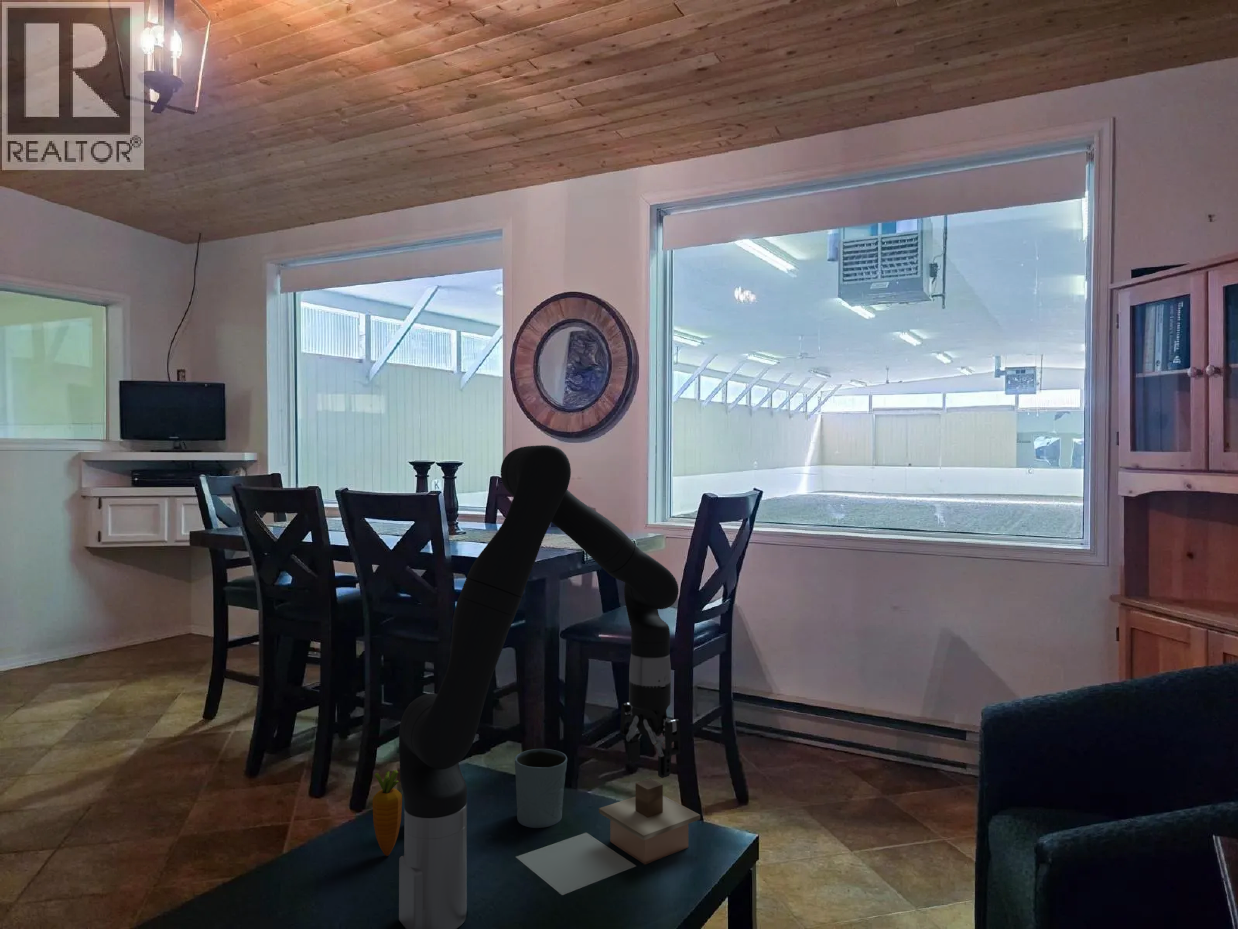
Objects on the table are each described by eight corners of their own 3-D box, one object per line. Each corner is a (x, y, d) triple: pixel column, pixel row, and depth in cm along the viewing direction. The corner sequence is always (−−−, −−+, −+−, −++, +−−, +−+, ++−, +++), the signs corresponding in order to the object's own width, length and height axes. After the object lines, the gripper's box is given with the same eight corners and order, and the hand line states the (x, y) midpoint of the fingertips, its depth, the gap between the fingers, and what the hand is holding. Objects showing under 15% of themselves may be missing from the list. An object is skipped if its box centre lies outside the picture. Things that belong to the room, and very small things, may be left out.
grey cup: (508, 813, 152) (508, 752, 152) (556, 804, 156) (556, 745, 156) (524, 836, 142) (524, 771, 142) (574, 825, 147) (574, 762, 147)
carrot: (366, 858, 134) (366, 772, 134) (387, 846, 138) (387, 763, 138) (387, 865, 131) (387, 778, 132) (407, 853, 136) (408, 768, 136)
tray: (562, 897, 122) (562, 895, 122) (515, 859, 134) (515, 857, 134) (636, 868, 131) (636, 866, 131) (586, 834, 143) (586, 832, 143)
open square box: (644, 866, 131) (645, 834, 131) (610, 844, 139) (610, 813, 139) (688, 849, 137) (688, 818, 137) (652, 828, 145) (652, 799, 145)
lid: (643, 840, 129) (643, 806, 129) (598, 812, 140) (598, 780, 140) (700, 819, 137) (700, 787, 137) (653, 794, 147) (653, 764, 147)
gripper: (609, 673, 142) (608, 761, 142) (659, 691, 131) (658, 787, 130) (641, 667, 147) (640, 753, 146) (692, 684, 135) (690, 777, 135)
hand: (648, 769), depth 138 cm, fingers open, 8 cm apart
